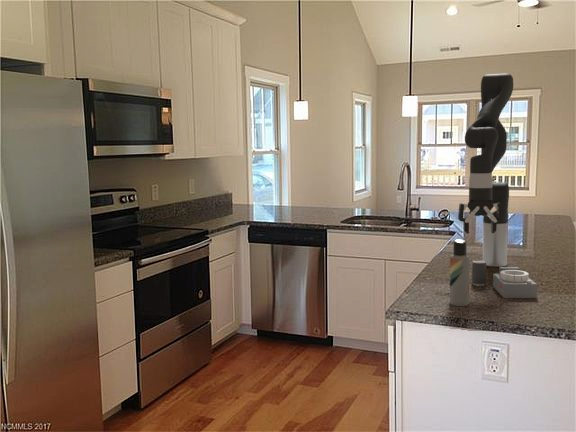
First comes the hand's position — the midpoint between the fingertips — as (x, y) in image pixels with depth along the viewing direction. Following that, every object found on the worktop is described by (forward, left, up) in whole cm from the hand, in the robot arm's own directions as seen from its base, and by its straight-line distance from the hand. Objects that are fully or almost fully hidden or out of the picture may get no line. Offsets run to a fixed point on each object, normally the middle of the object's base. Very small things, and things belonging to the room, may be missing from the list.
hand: (479, 233), depth 189 cm
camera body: (+10, +9, -18) cm, 23 cm away
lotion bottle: (+24, -11, -18) cm, 32 cm away
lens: (0, 0, -18) cm, 18 cm away
